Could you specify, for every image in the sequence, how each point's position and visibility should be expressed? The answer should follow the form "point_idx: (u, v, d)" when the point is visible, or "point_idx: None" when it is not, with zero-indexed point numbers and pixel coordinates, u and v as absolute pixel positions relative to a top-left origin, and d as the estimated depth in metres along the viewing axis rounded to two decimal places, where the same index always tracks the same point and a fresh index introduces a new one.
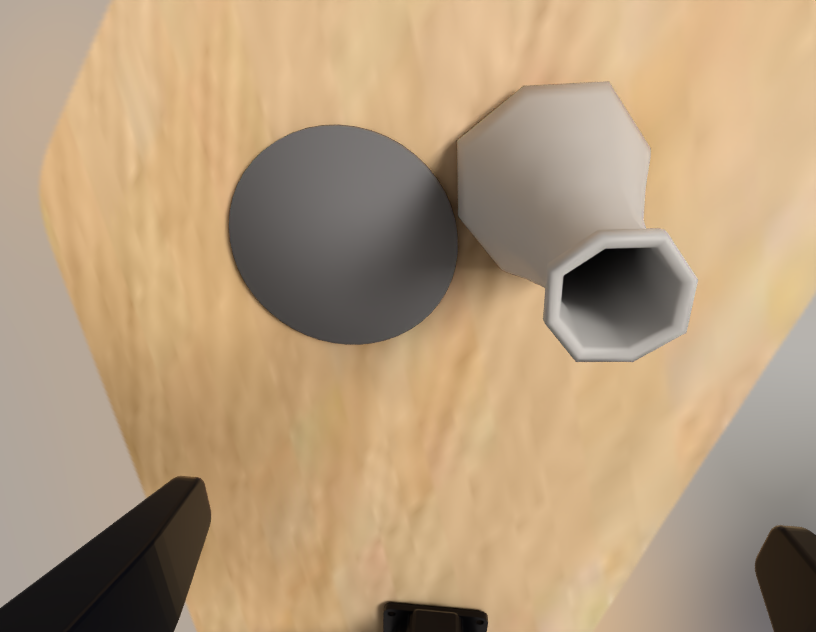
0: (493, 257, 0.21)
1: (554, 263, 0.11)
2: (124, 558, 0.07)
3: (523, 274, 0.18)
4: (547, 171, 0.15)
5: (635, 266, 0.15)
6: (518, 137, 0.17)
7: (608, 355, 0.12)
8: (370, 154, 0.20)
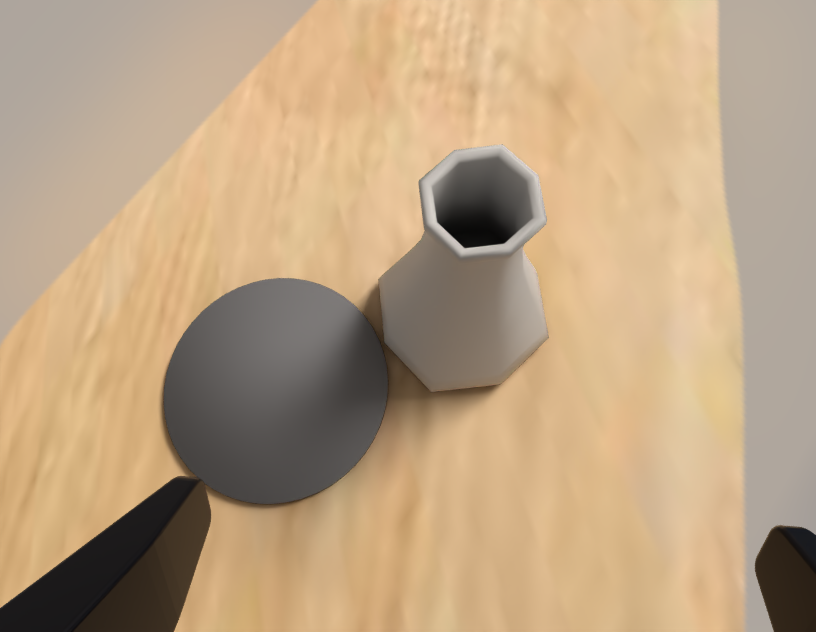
0: (420, 372, 0.21)
1: None
2: (124, 558, 0.07)
3: (439, 338, 0.19)
4: None
5: None
6: None
7: (487, 249, 0.13)
8: (305, 298, 0.23)
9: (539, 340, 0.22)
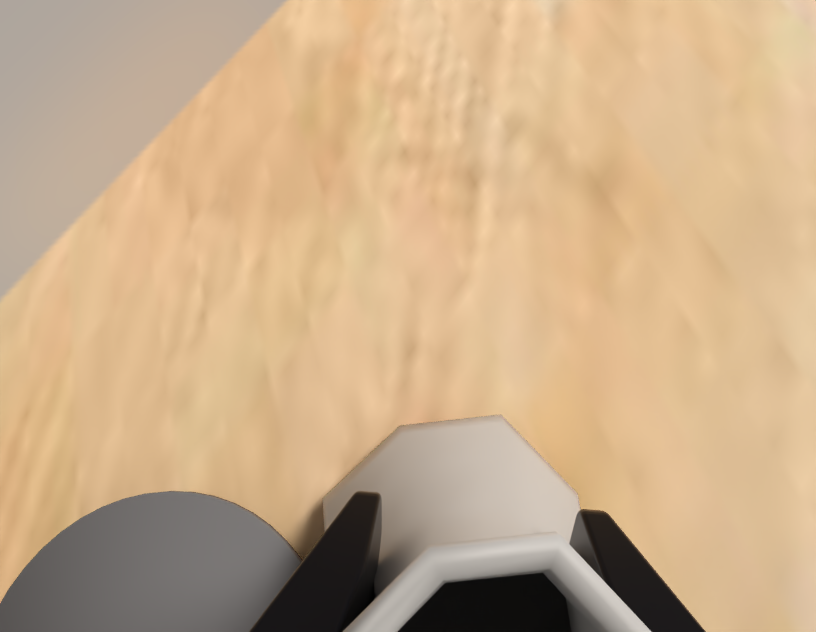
0: None
1: (346, 629, 0.05)
2: (347, 579, 0.07)
3: None
4: (409, 504, 0.10)
5: None
6: (383, 475, 0.12)
7: None
8: (206, 527, 0.15)
9: None
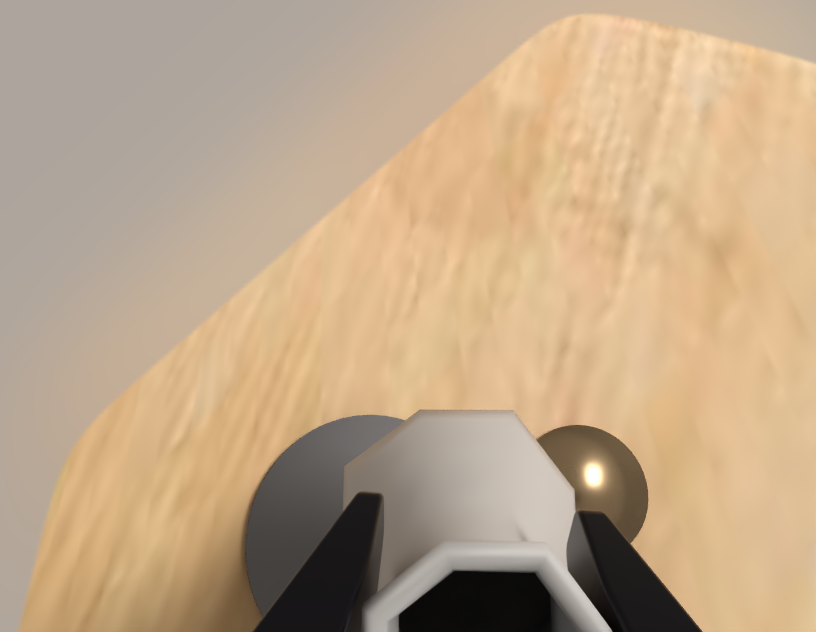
0: None
1: (374, 596, 0.07)
2: (350, 579, 0.07)
3: None
4: (424, 487, 0.11)
5: None
6: (403, 455, 0.14)
7: None
8: None
9: None
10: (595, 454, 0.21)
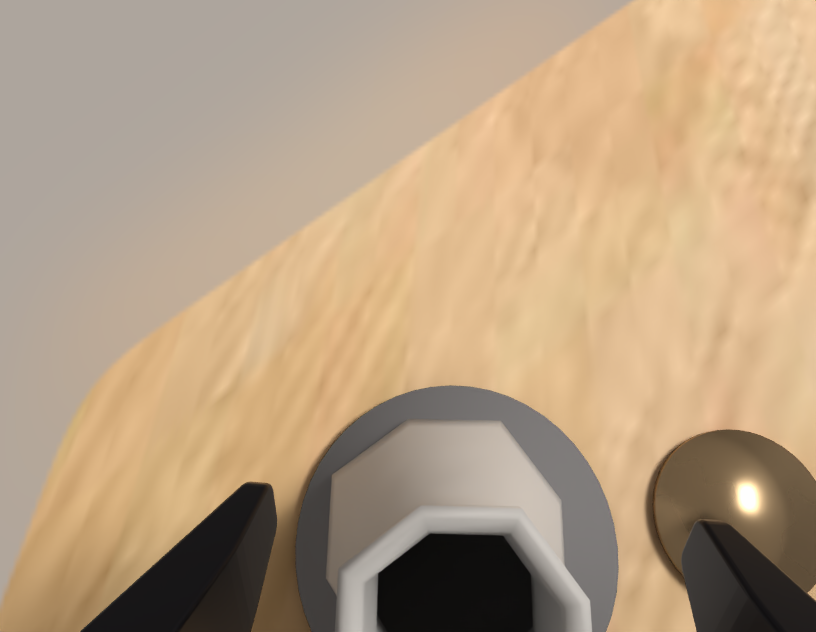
0: None
1: (350, 558, 0.07)
2: (210, 566, 0.07)
3: None
4: (408, 484, 0.12)
5: (533, 628, 0.09)
6: (389, 459, 0.14)
7: None
8: (520, 430, 0.17)
9: None
10: (761, 470, 0.16)
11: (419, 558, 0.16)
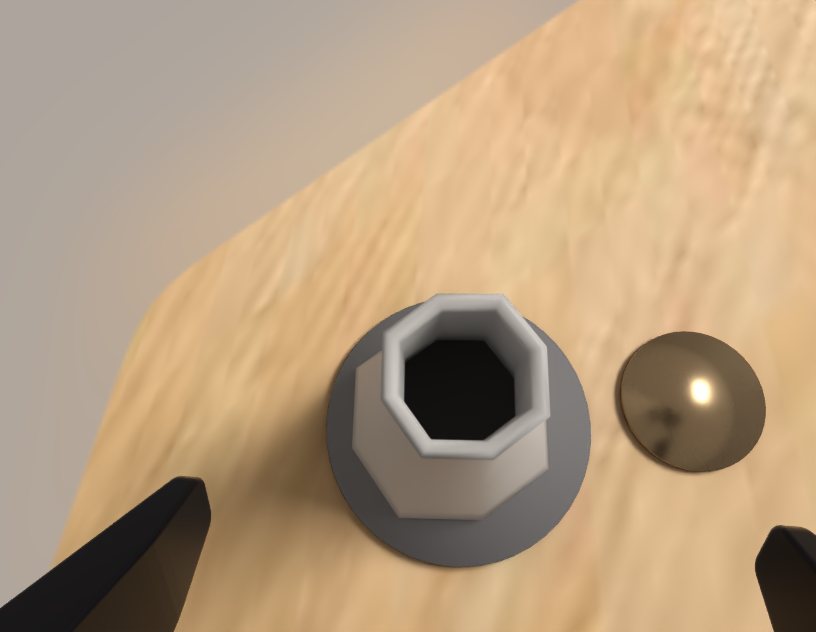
0: (387, 494, 0.18)
1: (390, 328, 0.10)
2: (124, 558, 0.07)
3: (407, 479, 0.15)
4: None
5: None
6: None
7: (461, 449, 0.09)
8: None
9: (536, 473, 0.18)
10: (710, 363, 0.19)
11: (428, 433, 0.19)
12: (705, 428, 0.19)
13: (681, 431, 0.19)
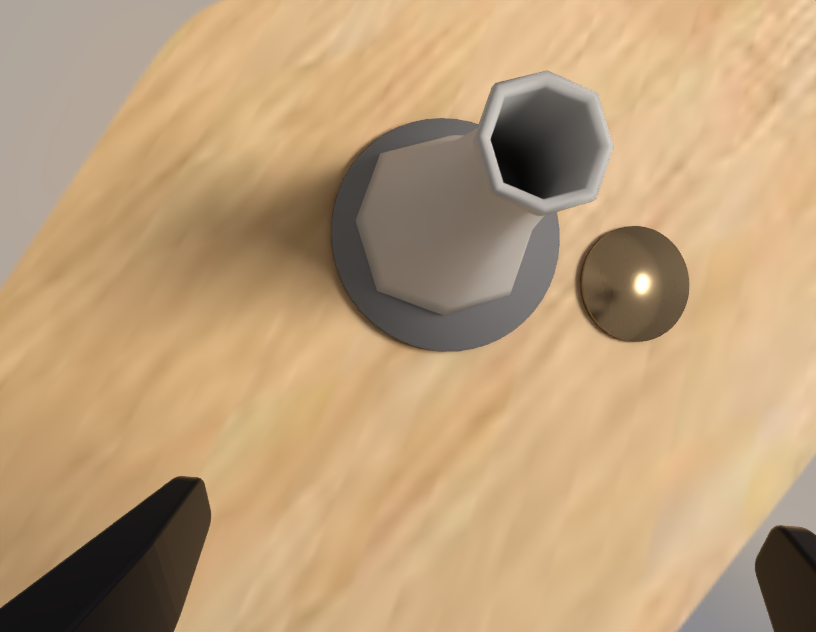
0: (376, 267, 0.20)
1: None
2: (124, 558, 0.07)
3: (415, 248, 0.17)
4: None
5: (532, 224, 0.15)
6: (442, 140, 0.19)
7: (525, 196, 0.12)
8: None
9: (500, 294, 0.21)
10: (660, 261, 0.23)
11: None
12: (635, 308, 0.23)
13: (617, 305, 0.23)
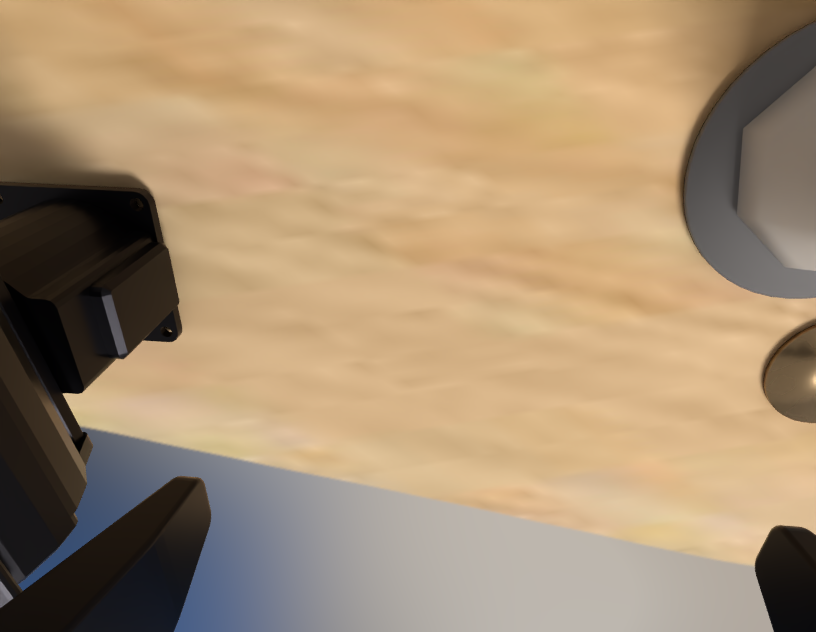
0: (780, 114, 0.16)
1: None
2: (124, 558, 0.07)
3: None
4: None
5: None
6: None
7: None
8: None
9: (786, 259, 0.18)
10: None
11: None
12: (804, 383, 0.21)
13: (801, 365, 0.21)
